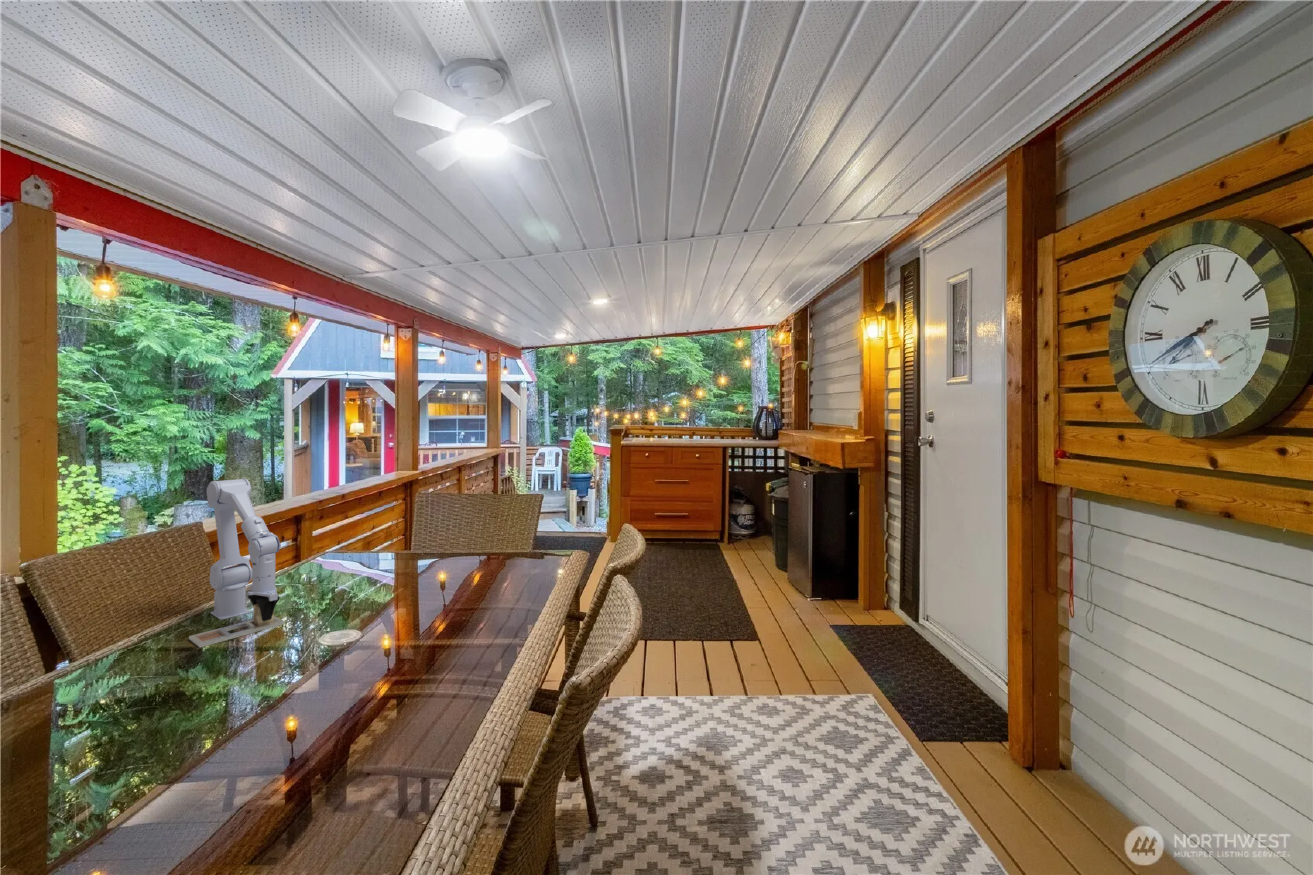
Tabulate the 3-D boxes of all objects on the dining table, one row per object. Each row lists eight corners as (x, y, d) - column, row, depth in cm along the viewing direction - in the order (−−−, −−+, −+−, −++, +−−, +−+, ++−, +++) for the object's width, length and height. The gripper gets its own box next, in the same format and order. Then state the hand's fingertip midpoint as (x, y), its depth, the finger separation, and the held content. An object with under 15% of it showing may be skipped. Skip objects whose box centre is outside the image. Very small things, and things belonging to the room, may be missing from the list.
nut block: (253, 623, 160) (253, 604, 160) (268, 619, 164) (268, 601, 163) (258, 627, 158) (258, 607, 158) (273, 622, 161) (274, 604, 161)
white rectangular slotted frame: (189, 639, 149) (189, 636, 149) (272, 617, 166) (272, 614, 166) (199, 647, 145) (199, 644, 144) (283, 624, 162) (283, 621, 162)
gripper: (238, 573, 161) (238, 616, 161) (258, 583, 153) (258, 628, 154) (265, 568, 167) (265, 609, 167) (285, 577, 159) (285, 620, 159)
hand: (263, 618), depth 161 cm, fingers closed on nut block, 4 cm apart
